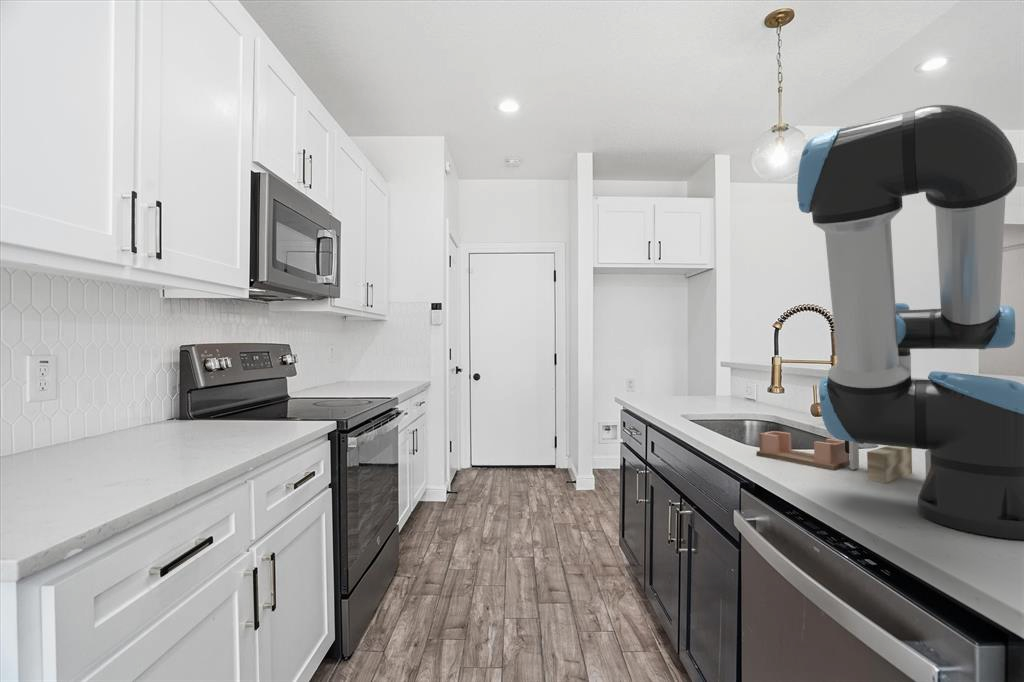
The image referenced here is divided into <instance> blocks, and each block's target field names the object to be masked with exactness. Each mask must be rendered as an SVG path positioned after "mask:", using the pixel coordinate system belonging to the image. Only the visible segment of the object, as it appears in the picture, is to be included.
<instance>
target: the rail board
mask: <svg viewBox="0 0 1024 682" xmlns="http://www.w3.org/2000/svg"><path fill="white" fill-rule="evenodd" d="M755 454H756V456H757V457H761V458H762V457H763V458H767V459H771V460H772V459H773V460H777V461H784V462H787V463H793V464H798V465H804V466H809V467H810V466H811V467H814V468H821V469H825V470H828V471H829V470H830V471H837V470H840V469H843V468H846V467H850V459H849V461H848V462H844V463H841V464H837V465H832V464H827V463H821V462H816V461H814V453H810V452H805V451H800V450H794V449H793V450H792V449H791V451H783V450H779V454H772V453H767V452H761V451H760V450H757V451H756V453H755Z"/></svg>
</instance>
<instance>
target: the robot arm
mask: <svg viewBox="0 0 1024 682" xmlns="http://www.w3.org/2000/svg"><path fill="white" fill-rule="evenodd" d="M1016 155H1017V154H1016V152H1015V150H1014V148H1013V145H1012V143H1011V142H1010V140H1009V139H1008V137H1007V136H1006V134H1005V133H1004V131H1003V130H1001V129H1000V127H998V126H997V124H996V123H994V122H993V121H992V120H990V119H988V118H987V117H986V116H984V115H982V114H980V113H978V112H976V111H973V110H972V109H969V108H966V107H963V106H958V105H953V104H952V105H951V104H933V105H932V104H931V105H927V106H922V107H918V108H915V109H913V110H909V111H906V112H901V113H897V114H892V115H889V116H885V117H881V118H877V119H873V120H869V121H865V122H862V123H857V124H853V125H849V126H846V127H839V128H837V129H834V130H832V131H828V132H825V133H822V134H820V135H819V134H818V135H817V136H814V137H813V138H811V139H809V141H808V142H807V143H806V144H805V146H804V147H803V150H802V153H801V155H800V160H799V166H798V170H797V171H798V172H797V188H796V192H797V194H796V195H797V196H796V197H797V203H798V209H799V210H800V212H802V213H803V214H810V213H811V215H812V223H813V225H815V226H816V227H817V228H819V229H820V230H822V231H823V232H824V234H825V235H824V236H825V246H826V258H827V267H828V278H829V280H828V281H829V289H830V298H831V299H830V301H831V309H832V319H833V330H834V331H833V332H834V343H835V353H836V363H834V364H833V365H831V367H830V368H829V369H828V372H827V376H824V377H823V378H822V379H821V380H820V382H819V385H818V386H819V387H818V397H819V410H820V414H821V418H822V421H823V424H824V426H825V429H826V430H827V432H828V433H829V434H830V436H832V437H833V438H835V440H841V441H845V452H846V453H849V460H850V466H849V470H852V471H855V470H857V469H859V468H860V459H859V458H860V451H859V449H860V448H859V446H860V445H863V444H869V445H877V446H878V445H879V446H897V447H906V448H912V449H918V450H925V451H924V452H925V453H924V454H925V479H924V482H923V485H922V487H921V489H920V492H919V495H918V496H917V497H918V498H917V512H918V515H920V516H922V517H923V518H925V519H927V520H929V521H932V522H934V523H937V524H939V525H942V526H946V527H948V528H951V529H955V530H958V531H963V532H968V533H972V534H976V535H983V536H986V537H987V536H988V537H994V538H999V539H1000V538H1002V539H1010V540H1024V384H1023V383H1021V382H1018V381H1016V380H1011V379H1004V378H999V377H991V376H985V375H976V374H969V373H968V374H966V373H959V372H949V371H948V372H947V371H937V370H936V371H935V370H934V371H930V372H929V374H928V375H927V379H917V378H915V379H913V378H912V356H911V355H912V354H911V350H929V349H930V350H933V349H939V350H942V349H943V350H946V349H947V350H950V349H951V350H983V351H985V350H987V349H1006V348H1010V347H1012V346H1013V345H1014V344H1015V341H1016V313H1015V309H1014V308H1013V306H1009V305H1001V296H1002V295H1001V294H1002V279H1003V278H1002V276H1003V272H1002V271H1003V257H1004V256H1003V254H1004V253H1003V252H1004V236H1005V235H1004V233H1005V232H1004V231H1005V216H1006V215H1005V212H1006V197H1007V196H1008V195H1009V194H1010V193H1012V191H1013V190H1014V189H1015V188H1016V185H1017V181H1018V160H1017V159H1018V158H1017V156H1016ZM919 193H925V199H926V201H927V202H928V204H930V205H932V206H933V207H934V208H935V224H936V227H935V228H936V241H937V242H936V243H937V244H936V245H937V261H938V264H937V265H938V277H939V278H938V280H939V296H940V297H939V299H940V302H939V303H940V308H930V309H929V308H928V309H926V308H925V309H910V305H908V304H907V303H904V302H901V303H900V302H896V290H895V271H894V270H895V269H894V256H893V242H892V241H893V239H892V237H893V236H892V220H893V219H894V218H895V217H896V216H897V215H898V214H899V213H900V211H902V210H903V197H906V196H910V195H916V194H919Z"/></svg>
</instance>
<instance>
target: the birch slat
mask: <svg viewBox="0 0 1024 682" xmlns="http://www.w3.org/2000/svg"><path fill="white" fill-rule="evenodd" d="M912 449H913V448H906V447H897V446H887V445H885V446H884V447H880V448H877V449H873V450H869V451H867V452H866V456H867V457H866V459H867V469H866V470H867V481H872V482H874V483H875V482H877V483H881V484H887V483H890V482H893V481H894V480H898V479H900V478H903V477H905V476H908V475H911V474H913V454H912V453H913V452H912V451H913V450H912Z"/></svg>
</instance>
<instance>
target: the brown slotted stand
mask: <svg viewBox="0 0 1024 682" xmlns="http://www.w3.org/2000/svg"><path fill="white" fill-rule="evenodd" d="M758 436H759V451H761V452H767V453H772V454H779V450H783V451H791V450H792V433H791V432H786V431H777V430H772V431H766V432H760V433H759V435H758ZM813 445H814V447H813V450H814V451H813V452H814V453H813V454H814V461H816V462H821V463H827V464H832V465H837V464H841V463H844V462H848V461H849V460H850V458H849V453H846V452H845V440H839V439H834V438H826V439H825V442H824V441H817V440H816V441H814V442H813Z"/></svg>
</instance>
